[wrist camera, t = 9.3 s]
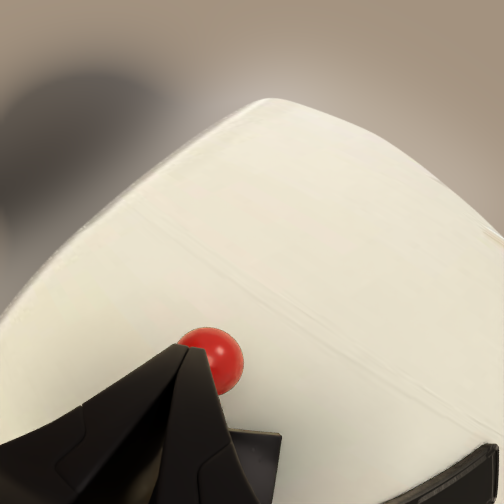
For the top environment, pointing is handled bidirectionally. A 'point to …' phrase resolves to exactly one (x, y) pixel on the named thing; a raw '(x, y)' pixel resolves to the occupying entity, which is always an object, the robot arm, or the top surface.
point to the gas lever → (218, 355)
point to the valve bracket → (255, 461)
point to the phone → (460, 482)
